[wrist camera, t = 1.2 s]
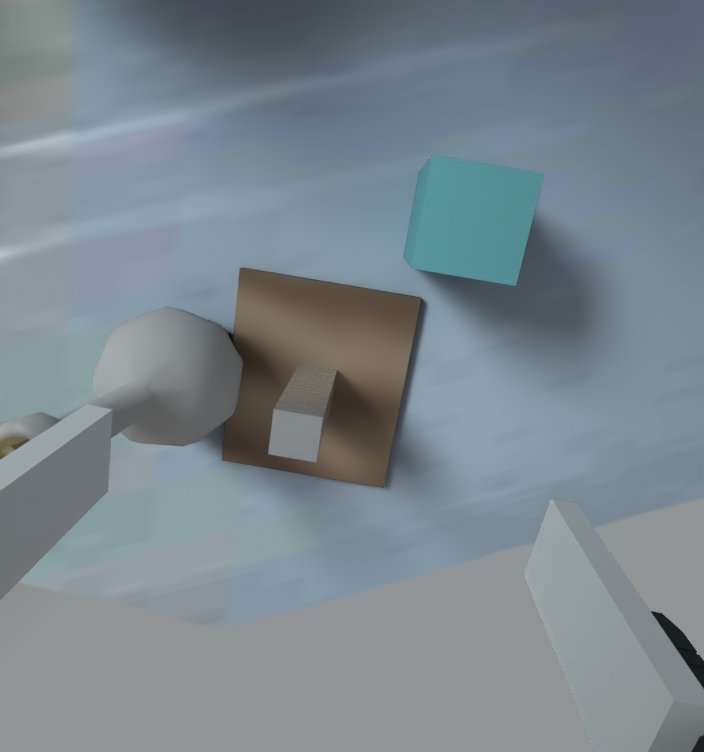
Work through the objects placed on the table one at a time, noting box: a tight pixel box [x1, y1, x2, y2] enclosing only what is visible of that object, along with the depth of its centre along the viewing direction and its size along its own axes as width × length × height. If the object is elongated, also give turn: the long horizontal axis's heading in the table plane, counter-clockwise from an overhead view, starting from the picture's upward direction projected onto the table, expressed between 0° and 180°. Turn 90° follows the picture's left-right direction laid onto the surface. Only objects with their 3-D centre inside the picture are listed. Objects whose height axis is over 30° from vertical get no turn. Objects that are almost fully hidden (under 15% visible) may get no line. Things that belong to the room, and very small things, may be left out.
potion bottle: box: [0, 306, 243, 460], centre depth 27 cm, size 9×9×18 cm
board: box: [222, 267, 421, 488], centre depth 36 cm, size 14×12×1 cm
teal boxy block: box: [404, 155, 544, 286], centre depth 29 cm, size 5×5×9 cm
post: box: [268, 363, 337, 462], centre depth 31 cm, size 3×3×9 cm
